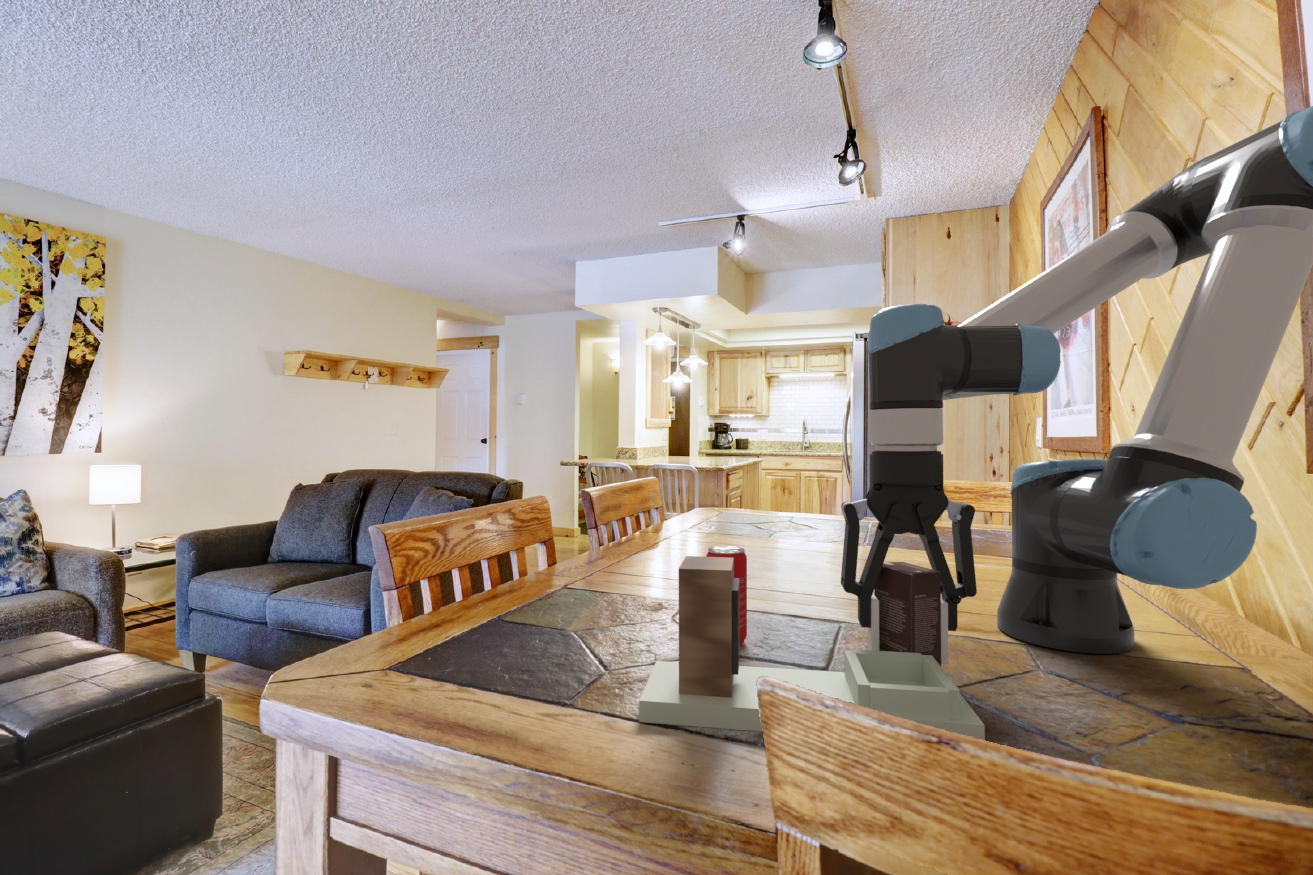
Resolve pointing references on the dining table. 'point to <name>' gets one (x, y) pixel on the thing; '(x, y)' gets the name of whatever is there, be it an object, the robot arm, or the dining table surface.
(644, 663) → the dining table surface
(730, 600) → the brown tall rectangular block
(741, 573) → the beverage can
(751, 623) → the dining table surface
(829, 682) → the pale green holder tray
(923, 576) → the box
